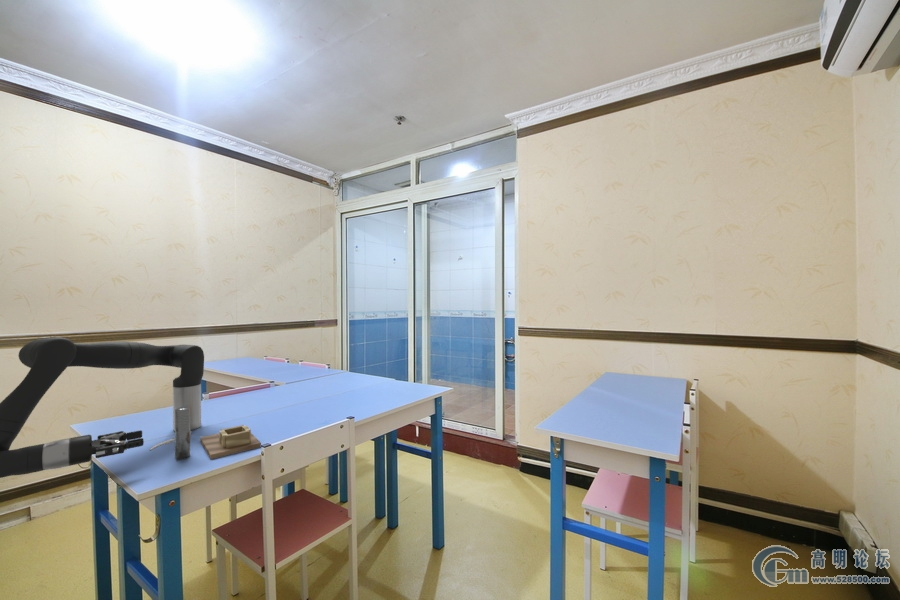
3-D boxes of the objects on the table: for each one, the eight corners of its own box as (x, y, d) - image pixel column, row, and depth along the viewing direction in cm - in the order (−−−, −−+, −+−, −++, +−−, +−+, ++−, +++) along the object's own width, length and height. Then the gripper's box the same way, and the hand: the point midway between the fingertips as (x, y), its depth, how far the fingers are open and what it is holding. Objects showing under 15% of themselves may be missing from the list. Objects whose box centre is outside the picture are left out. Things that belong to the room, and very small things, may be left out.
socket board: (200, 441, 136) (200, 426, 135) (246, 431, 146) (246, 417, 145) (210, 459, 121) (210, 442, 121) (260, 447, 131) (260, 431, 131)
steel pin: (174, 457, 122) (174, 408, 122) (189, 453, 125) (189, 406, 125) (175, 461, 119) (175, 411, 119) (191, 457, 122) (190, 408, 122)
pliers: (148, 447, 127) (171, 431, 142) (148, 451, 127) (171, 435, 142) (181, 444, 129) (200, 429, 144) (181, 449, 129) (200, 433, 144)
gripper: (65, 446, 99) (144, 431, 110) (70, 431, 110) (141, 419, 121) (65, 474, 99) (144, 457, 110) (70, 457, 110) (141, 442, 121)
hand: (142, 437), depth 115 cm, fingers open, 8 cm apart
